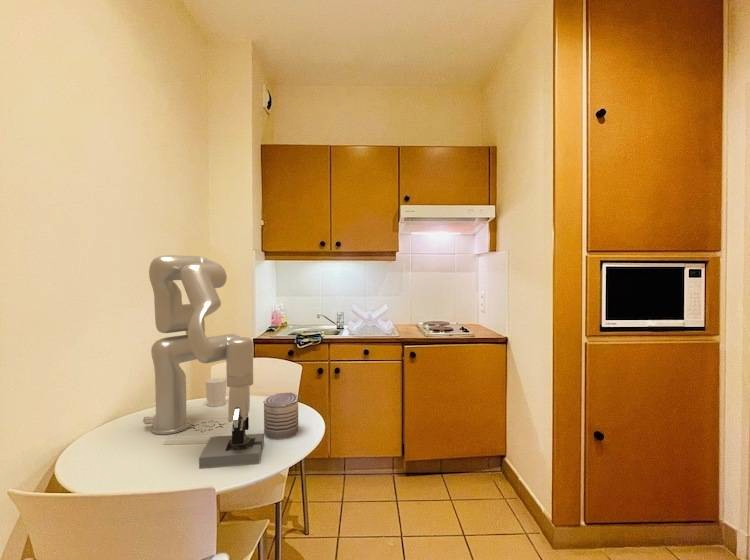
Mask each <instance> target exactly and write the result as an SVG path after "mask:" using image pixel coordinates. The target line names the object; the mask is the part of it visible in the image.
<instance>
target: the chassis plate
mask: <svg viewBox="0 0 750 560" xmlns="http://www.w3.org/2000/svg"><path fill="white" fill-rule="evenodd" d="M246 437H249V438H250V439H251V441H250V442H249V446H248V447H247V449H244V450H234V449H232V447H231V444H230V441H231V440H232V435H219V436H210V438H209V440H208V441H207V443H206V445H205V446H204V448H203V450H202V452H201V454H200V455H199V457H198V464H199V466H198V467H199V469H207V468H208V469H209V468H223V467H224V468H225V467H234V466H247V465H249V466H250V465H259V464H260V461H261V457H262V453H263V449H264V445H265V435H264V432H263V433H249V434H246Z"/></svg>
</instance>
